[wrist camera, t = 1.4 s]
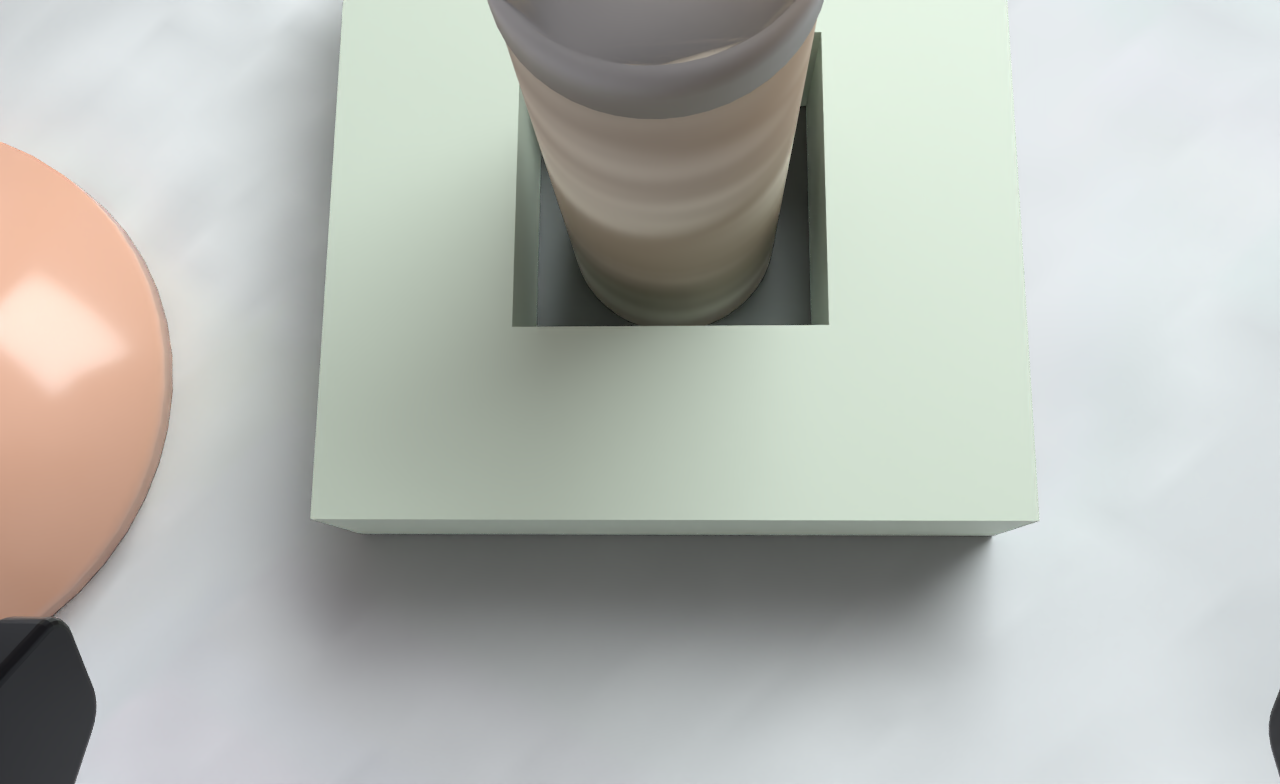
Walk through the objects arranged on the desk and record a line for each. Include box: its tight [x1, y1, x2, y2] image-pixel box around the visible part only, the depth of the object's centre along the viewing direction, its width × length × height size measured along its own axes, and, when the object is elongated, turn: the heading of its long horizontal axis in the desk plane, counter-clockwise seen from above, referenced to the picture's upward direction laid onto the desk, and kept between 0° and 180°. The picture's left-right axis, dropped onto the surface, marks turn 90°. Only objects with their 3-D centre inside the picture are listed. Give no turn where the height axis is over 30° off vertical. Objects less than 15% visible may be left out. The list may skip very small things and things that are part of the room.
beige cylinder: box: [487, 0, 824, 326], centre depth 18 cm, size 4×4×11 cm
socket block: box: [310, 0, 1039, 536], centre depth 22 cm, size 12×12×3 cm
